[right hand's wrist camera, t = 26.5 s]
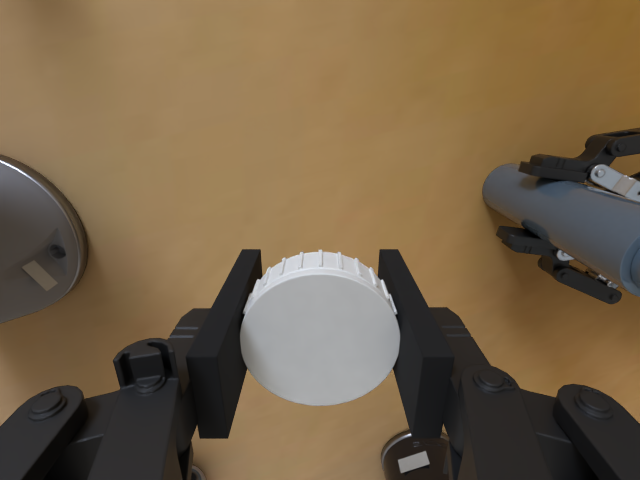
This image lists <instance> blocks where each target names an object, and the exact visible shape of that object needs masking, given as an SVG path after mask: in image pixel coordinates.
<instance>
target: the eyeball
mask: <svg viewBox="0 0 640 480" xmlns="http://www.w3.org/2000/svg"><path fill="white" fill-rule="evenodd" d="M191 480H206V477H205V475H204V474H203V472H202V471H201V470H200V469H199V468H198V467H196V466H194V465H192V474H191Z"/></svg>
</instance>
